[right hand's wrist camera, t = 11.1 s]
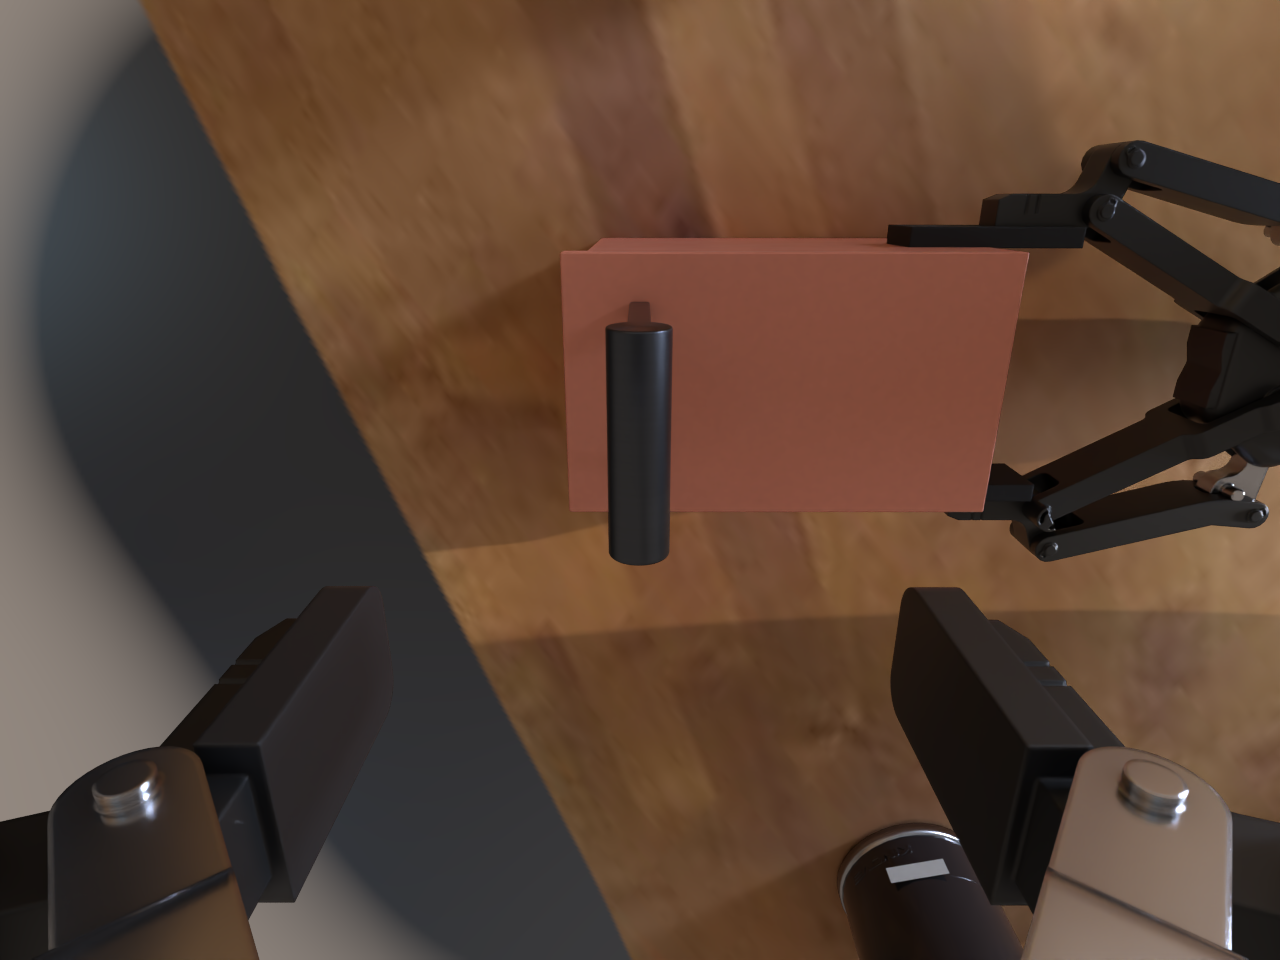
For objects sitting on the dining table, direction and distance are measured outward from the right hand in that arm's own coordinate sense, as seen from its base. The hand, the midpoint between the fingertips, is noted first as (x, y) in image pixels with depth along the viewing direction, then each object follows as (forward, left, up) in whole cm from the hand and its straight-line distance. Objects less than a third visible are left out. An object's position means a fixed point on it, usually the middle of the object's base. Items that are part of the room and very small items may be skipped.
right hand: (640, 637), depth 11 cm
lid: (-3, -4, -17) cm, 18 cm away
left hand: (-7, -8, -20) cm, 23 cm away
